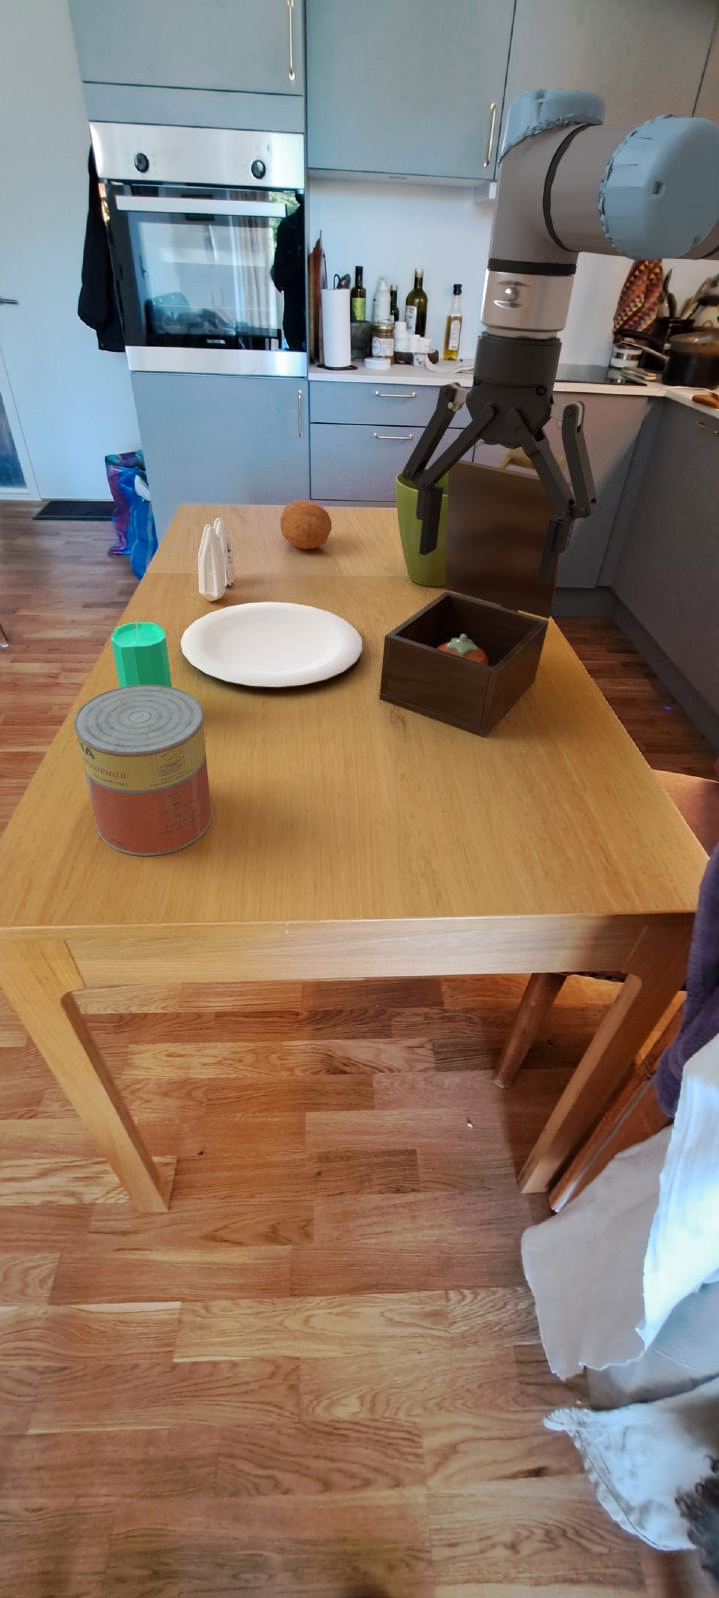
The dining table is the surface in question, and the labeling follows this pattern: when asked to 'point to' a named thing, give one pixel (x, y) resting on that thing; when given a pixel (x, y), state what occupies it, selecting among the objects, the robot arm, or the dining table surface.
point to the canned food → (146, 768)
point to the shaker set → (215, 561)
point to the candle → (141, 655)
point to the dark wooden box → (461, 662)
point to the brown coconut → (305, 524)
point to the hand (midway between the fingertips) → (484, 566)
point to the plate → (271, 645)
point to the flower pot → (420, 566)
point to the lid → (499, 534)
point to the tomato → (465, 649)
